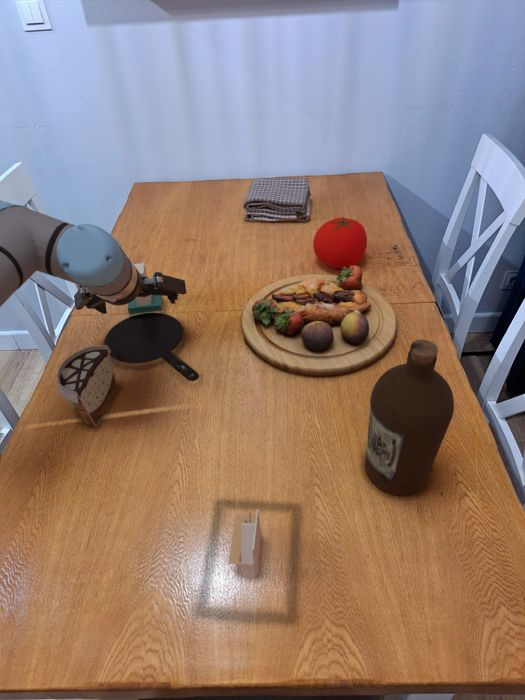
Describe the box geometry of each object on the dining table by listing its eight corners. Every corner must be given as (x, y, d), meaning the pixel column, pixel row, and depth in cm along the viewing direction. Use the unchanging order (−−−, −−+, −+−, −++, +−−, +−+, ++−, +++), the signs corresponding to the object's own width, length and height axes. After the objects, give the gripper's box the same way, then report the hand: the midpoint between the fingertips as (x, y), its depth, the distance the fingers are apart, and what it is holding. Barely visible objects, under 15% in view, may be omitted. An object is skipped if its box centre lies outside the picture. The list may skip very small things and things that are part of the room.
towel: (251, 200, 149) (250, 174, 143) (312, 201, 146) (312, 175, 141) (243, 223, 137) (241, 197, 132) (309, 225, 135) (309, 198, 130)
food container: (92, 379, 93) (76, 339, 86) (122, 383, 92) (108, 343, 85) (59, 430, 84) (39, 389, 77) (92, 435, 83) (74, 394, 76)
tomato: (374, 258, 121) (379, 217, 113) (345, 282, 113) (349, 240, 106) (333, 244, 127) (336, 204, 119) (303, 266, 119) (304, 225, 112)
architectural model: (230, 577, 64) (225, 550, 59) (237, 527, 69) (233, 498, 64) (256, 579, 64) (253, 552, 59) (261, 529, 69) (259, 500, 64)
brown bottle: (402, 433, 80) (431, 311, 64) (446, 483, 73) (491, 360, 56) (347, 457, 77) (361, 335, 60) (387, 512, 70) (416, 390, 53)
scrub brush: (163, 316, 107) (153, 273, 100) (130, 319, 106) (118, 277, 99) (163, 302, 111) (154, 260, 103) (132, 306, 110) (120, 264, 103)
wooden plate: (325, 266, 119) (326, 236, 113) (429, 331, 99) (437, 298, 93) (212, 317, 106) (208, 285, 100) (307, 404, 86) (308, 370, 80)
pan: (91, 342, 101) (88, 333, 100) (156, 308, 109) (154, 300, 107) (161, 408, 87) (159, 399, 85) (230, 364, 94) (229, 354, 93)
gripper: (35, 313, 75) (77, 329, 96) (196, 290, 77) (203, 311, 98) (29, 265, 76) (72, 292, 97) (189, 244, 78) (197, 275, 99)
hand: (138, 302), depth 98 cm, fingers open, 13 cm apart
